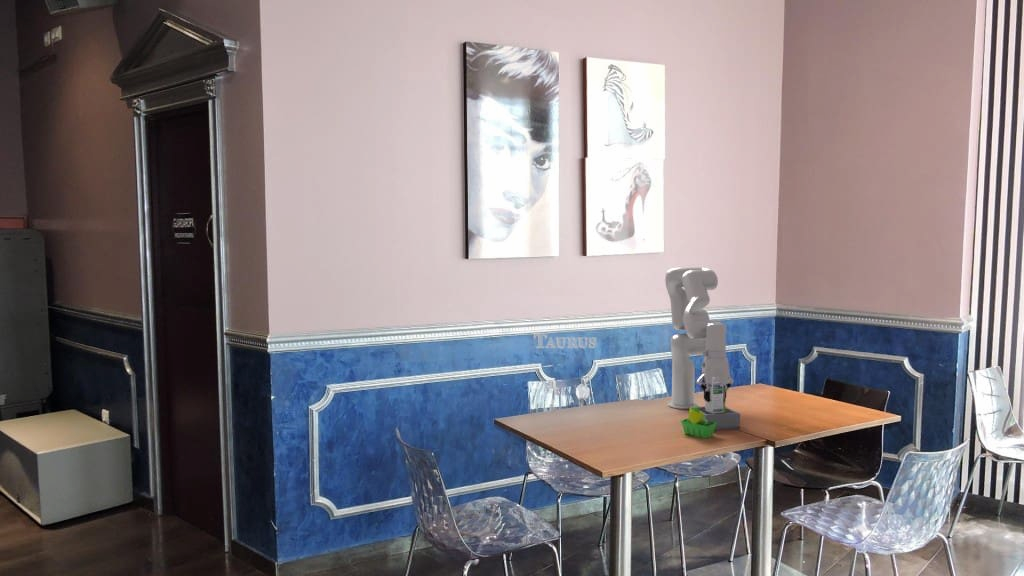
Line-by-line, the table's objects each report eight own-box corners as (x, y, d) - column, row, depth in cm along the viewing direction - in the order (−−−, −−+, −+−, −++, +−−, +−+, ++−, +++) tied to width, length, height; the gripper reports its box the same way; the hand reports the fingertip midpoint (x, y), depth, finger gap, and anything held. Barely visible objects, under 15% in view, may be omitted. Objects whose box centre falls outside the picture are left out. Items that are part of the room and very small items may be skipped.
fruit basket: (717, 435, 296) (718, 405, 295) (704, 440, 290) (705, 409, 289) (691, 430, 304) (691, 401, 303) (677, 434, 298) (678, 404, 297)
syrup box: (712, 413, 307) (712, 376, 306) (704, 410, 313) (705, 374, 312) (725, 413, 309) (726, 375, 308) (717, 409, 315) (718, 373, 314)
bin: (690, 422, 317) (690, 407, 317) (723, 420, 320) (723, 405, 319) (705, 430, 303) (705, 415, 303) (739, 428, 306) (739, 413, 306)
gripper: (698, 356, 304) (698, 403, 305) (740, 355, 308) (740, 401, 309) (690, 353, 312) (690, 399, 313) (731, 352, 315) (731, 397, 316)
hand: (715, 400), depth 311 cm, fingers closed on syrup box, 6 cm apart
